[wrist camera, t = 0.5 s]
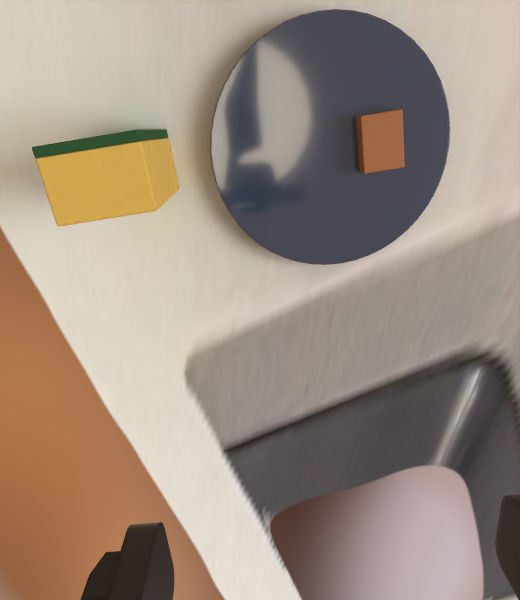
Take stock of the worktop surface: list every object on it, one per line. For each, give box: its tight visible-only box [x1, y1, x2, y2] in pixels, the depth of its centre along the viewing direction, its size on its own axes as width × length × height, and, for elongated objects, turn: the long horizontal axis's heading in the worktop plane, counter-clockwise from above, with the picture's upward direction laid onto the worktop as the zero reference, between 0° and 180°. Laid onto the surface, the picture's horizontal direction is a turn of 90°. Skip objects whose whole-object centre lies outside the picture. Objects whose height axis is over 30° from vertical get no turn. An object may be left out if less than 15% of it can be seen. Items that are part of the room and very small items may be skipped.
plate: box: [211, 9, 450, 265], centre depth 34 cm, size 18×18×2 cm
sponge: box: [32, 130, 179, 226], centre depth 30 cm, size 4×6×10 cm
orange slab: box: [356, 109, 405, 174], centre depth 33 cm, size 4×3×2 cm
